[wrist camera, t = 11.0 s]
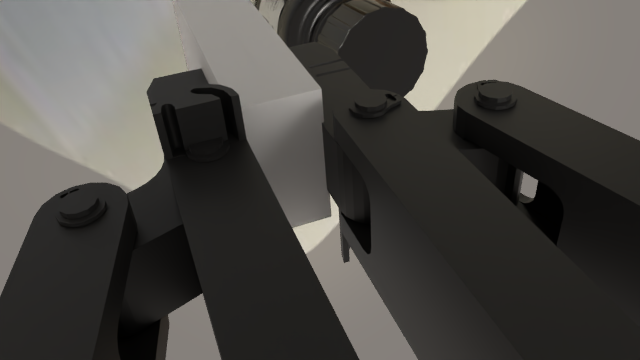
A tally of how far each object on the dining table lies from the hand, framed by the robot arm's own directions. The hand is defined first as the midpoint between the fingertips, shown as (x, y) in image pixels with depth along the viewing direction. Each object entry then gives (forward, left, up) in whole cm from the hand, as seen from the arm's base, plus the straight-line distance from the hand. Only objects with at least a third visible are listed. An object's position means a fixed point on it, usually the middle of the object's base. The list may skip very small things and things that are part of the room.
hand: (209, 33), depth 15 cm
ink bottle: (+17, +5, -28) cm, 33 cm away
